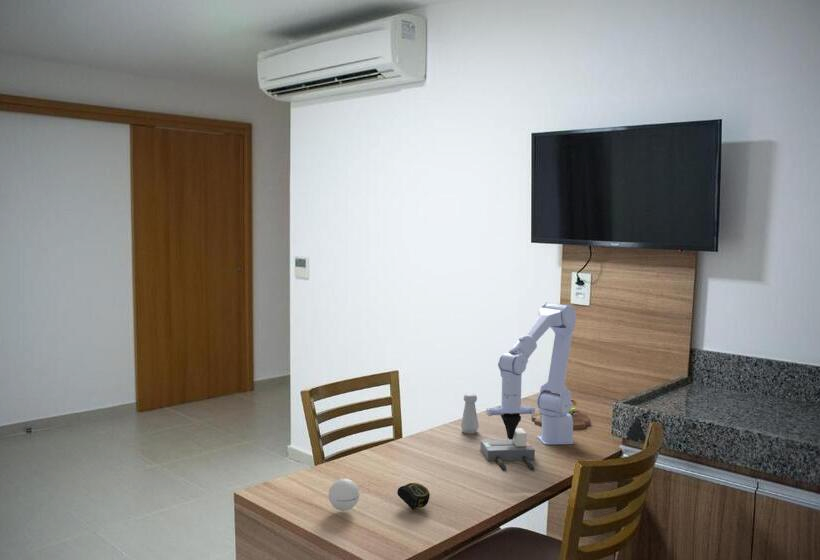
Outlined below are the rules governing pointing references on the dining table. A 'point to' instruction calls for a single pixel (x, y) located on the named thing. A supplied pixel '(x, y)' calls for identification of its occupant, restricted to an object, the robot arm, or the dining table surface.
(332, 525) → the dining table surface
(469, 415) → the salt shaker
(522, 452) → the breaker block
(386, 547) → the dining table surface
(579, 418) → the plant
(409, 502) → the tape measure
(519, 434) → the breaker handle
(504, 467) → the dressed cords
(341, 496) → the white oval body
